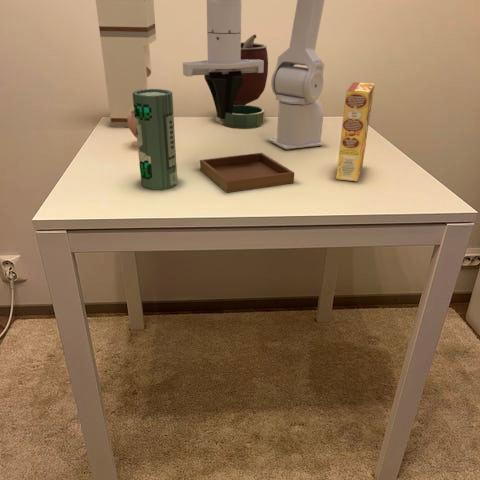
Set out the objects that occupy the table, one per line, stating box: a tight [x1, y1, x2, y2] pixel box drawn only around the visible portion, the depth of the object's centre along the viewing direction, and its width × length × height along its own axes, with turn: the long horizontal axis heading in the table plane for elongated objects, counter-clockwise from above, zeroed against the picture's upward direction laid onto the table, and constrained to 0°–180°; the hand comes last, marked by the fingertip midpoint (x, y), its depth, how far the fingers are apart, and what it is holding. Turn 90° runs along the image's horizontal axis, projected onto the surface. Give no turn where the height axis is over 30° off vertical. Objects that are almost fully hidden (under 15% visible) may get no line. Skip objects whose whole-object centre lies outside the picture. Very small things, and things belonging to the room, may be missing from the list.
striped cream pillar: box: [95, 0, 157, 128], centre depth 115 cm, size 11×11×35 cm
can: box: [132, 88, 178, 191], centre depth 84 cm, size 6×6×15 cm
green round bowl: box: [220, 104, 265, 130], centre depth 92 cm, size 8×8×2 cm
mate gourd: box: [215, 34, 269, 124], centre depth 122 cm, size 16×14×20 cm
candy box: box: [335, 81, 376, 182], centre depth 90 cm, size 9×4×15 cm, turn 162°
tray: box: [199, 152, 295, 193], centre depth 92 cm, size 13×13×2 cm
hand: (224, 117), depth 91 cm, fingers closed on green round bowl, 1 cm apart
